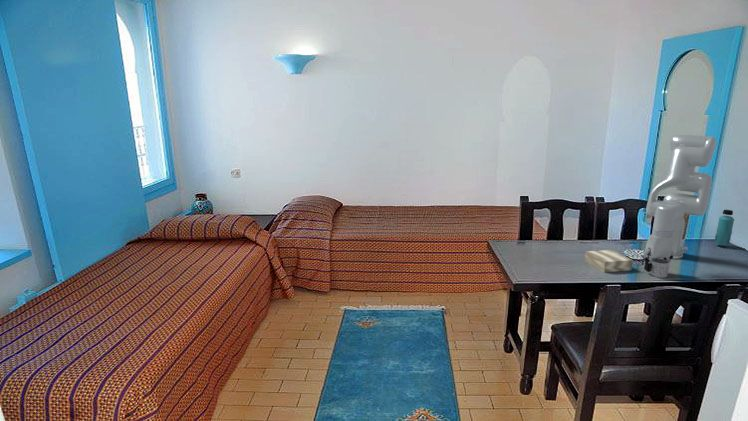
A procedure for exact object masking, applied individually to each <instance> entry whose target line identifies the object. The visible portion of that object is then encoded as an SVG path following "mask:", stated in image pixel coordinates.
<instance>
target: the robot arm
mask: <svg viewBox="0 0 748 421" xmlns="http://www.w3.org/2000/svg"><path fill="white" fill-rule="evenodd" d="M669 146H670V150H671V153H670V156H669V161H668V165H667V169H666V174H665V178H664V179H663V180H661V181H660V182H658V183H657V184H656V185H655V186H654V187H653V188H652V189H651V191H650V193H649V195H648V200H647V203H646V208H645V212H646V214H647V215H648V216H651V217H653V218H654V219H653V226H652V232H651V234H650V235H649V236H648V238H647V242H646V245H645V249H644V251H643V252H641V254H640V255H641V257H642V259H643V262H644V261H645V267H644V266H643V269H644V270H645V271H647V272H649V273H650V271H651V267H652V263H651V262H652V261H653V259H654V258H659V259H664V260H667V261H669V262H670V263H671V260H673V259H675V260H679V259H683V257H684V254H683V253H682V252H688V251H689V248H688V246H683V247H682V242H683V237H684V236H683V235H684V231H685V225H686V220H685V218H684V215H688V216H689V215H690V216H697V217H700V216H704V215H705V214H706V212H707V209H708V206H709V201H710V195H711V190H712V185H713V184H712V183H713V179H712V176H711V175H710V174H709V173H705V172H696V171H695V168H696V167H699V168H700V167H701V168H704V167H707V166H708V165H709V164H710V162H711V160H712V158H713V155H714V153H715V150H716V147H717V140H716V138H715V137H713V136H710V135H693V134H677V135H673V136H672V137H671V138H670V140H669ZM668 188H671V189H672V190H675V191H680V192H689V193H694V194H689V193H680V192H669V193H667V194H665V196H664V198H663V200H658V199H657V197H658V195H659V194H660V193H661V192H662V191H665V190H667V189H668ZM695 194H696V195H695Z"/></svg>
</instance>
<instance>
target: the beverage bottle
mask: <svg viewBox="0 0 748 421" xmlns="http://www.w3.org/2000/svg"><path fill="white" fill-rule="evenodd" d="M722 214H723V215H721V216H719V219H718V222H717V226H716V231H715V236H714V244H716V245H719V246H723V247H724V246H725V247H726V246H729V245H730V243H731V237H732V233H733V226H734V222H735V218H734V217H733V215H734V210H733V209H732V210H731V209H723V210H722Z"/></svg>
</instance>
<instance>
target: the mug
mask: <svg viewBox="0 0 748 421" xmlns="http://www.w3.org/2000/svg"><path fill="white" fill-rule="evenodd" d="M651 263H652V267H651V271H650V272H649V275H651V277H652V276H653V277H656V278H662V279H664V278H667V277H668V273H669V268H670V264H671V261H670V262H669V261H667V260H664V259H663V258H654V259H653V261H652V262H651ZM644 267H645V261H644V260H643V268H644Z"/></svg>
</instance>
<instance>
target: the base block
mask: <svg viewBox="0 0 748 421" xmlns="http://www.w3.org/2000/svg"><path fill="white" fill-rule="evenodd" d="M584 255H585V256H584V262H585V263H587V264H589V265H590V266H591V267H594V268H596V269H597V270H599V271H601V272H603V273H612V272H613V273H615V272H626V271H632V267H633V259H631V258H629V257H628V256H625V255H624V254H621V253H619V252H617V251H615V250H614V249H603V250H600V249H599V250H587V251H586V250H585V254H584Z"/></svg>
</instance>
